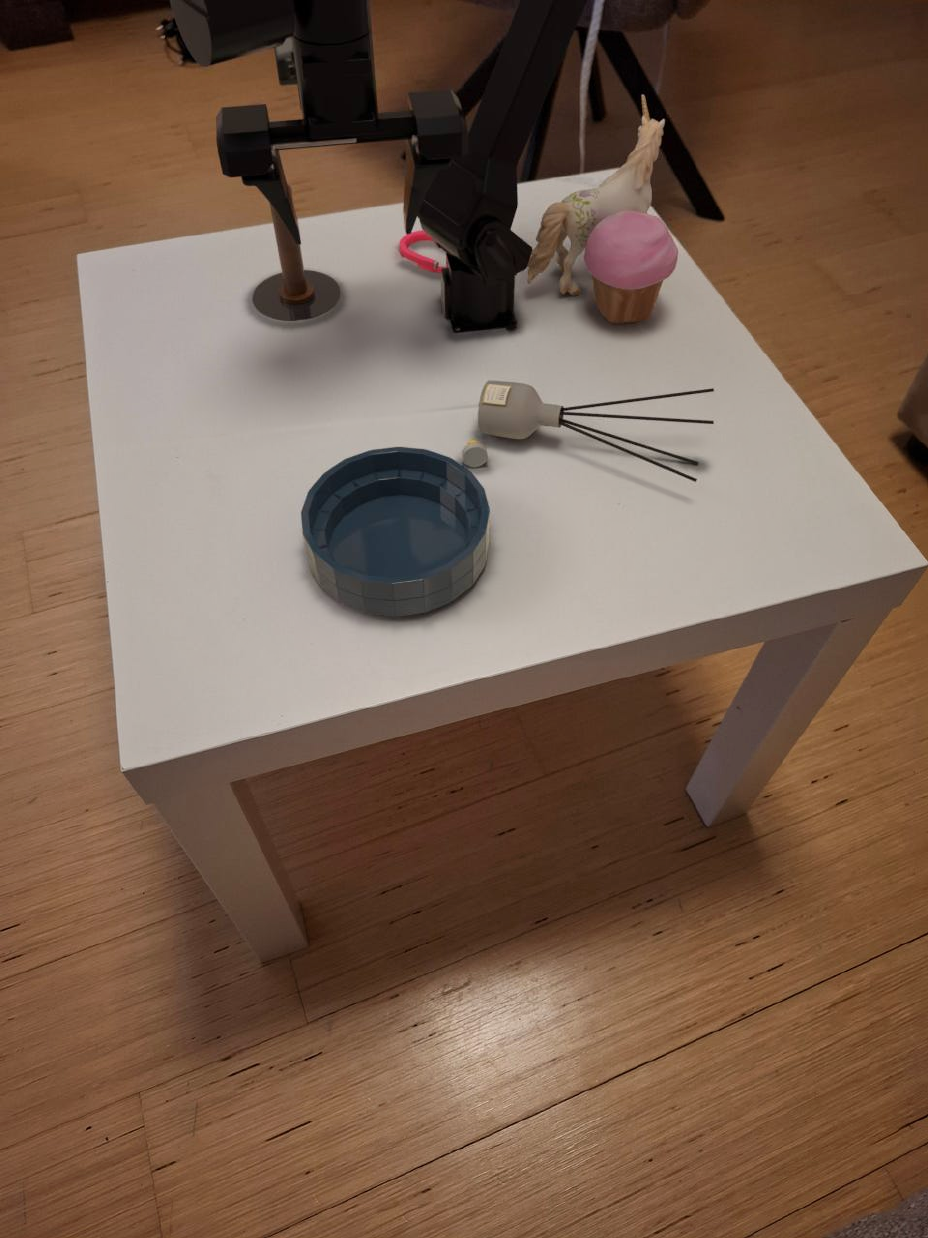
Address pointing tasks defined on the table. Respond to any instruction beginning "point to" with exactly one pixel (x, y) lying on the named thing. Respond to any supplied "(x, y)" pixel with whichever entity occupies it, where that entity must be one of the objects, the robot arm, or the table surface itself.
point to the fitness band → (414, 257)
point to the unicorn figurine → (597, 206)
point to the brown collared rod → (291, 265)
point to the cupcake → (629, 264)
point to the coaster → (321, 303)
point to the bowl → (396, 531)
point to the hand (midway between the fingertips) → (353, 236)
